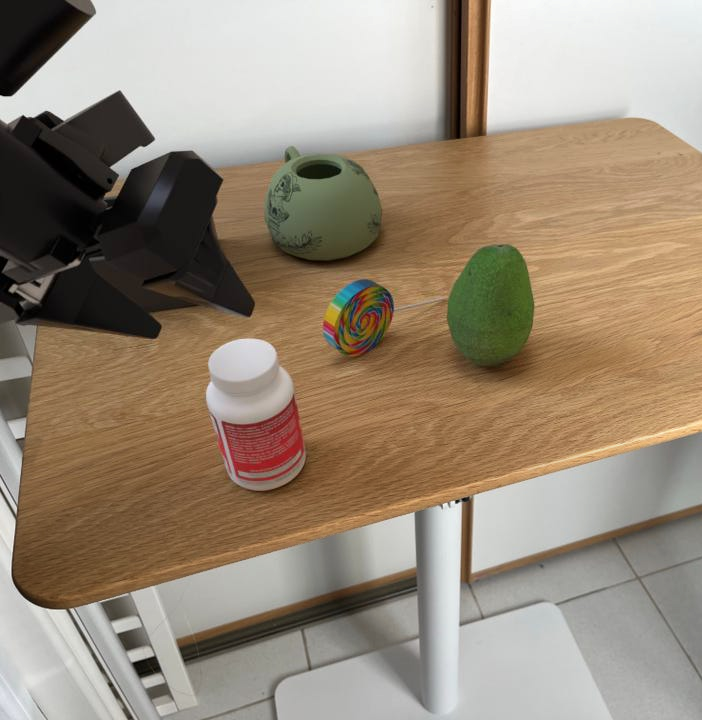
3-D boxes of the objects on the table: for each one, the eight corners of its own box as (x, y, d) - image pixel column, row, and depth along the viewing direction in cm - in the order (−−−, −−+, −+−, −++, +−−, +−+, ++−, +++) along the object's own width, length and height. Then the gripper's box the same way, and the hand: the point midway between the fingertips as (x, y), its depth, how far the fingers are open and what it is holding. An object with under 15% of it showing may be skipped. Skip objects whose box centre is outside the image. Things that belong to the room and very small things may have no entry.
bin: (92, 320, 72) (69, 263, 68) (101, 253, 81) (81, 199, 77) (222, 301, 75) (209, 245, 71) (218, 239, 84) (205, 185, 80)
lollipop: (441, 332, 78) (328, 364, 67) (432, 326, 78) (317, 356, 67) (456, 269, 74) (339, 292, 63) (446, 263, 75) (329, 285, 64)
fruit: (547, 358, 70) (561, 249, 62) (487, 397, 66) (492, 285, 58) (489, 319, 74) (495, 213, 66) (429, 353, 70) (427, 244, 62)
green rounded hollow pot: (404, 248, 84) (401, 177, 78) (296, 282, 78) (284, 208, 72) (342, 188, 94) (335, 122, 88) (242, 214, 88) (228, 145, 82)
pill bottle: (322, 459, 60) (306, 354, 53) (263, 507, 56) (236, 401, 49) (270, 424, 63) (248, 320, 55) (210, 467, 59) (177, 362, 52)
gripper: (128, -24, 35) (343, 189, 46) (-53, 99, 45) (159, 250, 56) (20, 150, 30) (292, 344, 41) (-158, 246, 40) (99, 381, 51)
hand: (202, 322), depth 47 cm, fingers open, 9 cm apart
